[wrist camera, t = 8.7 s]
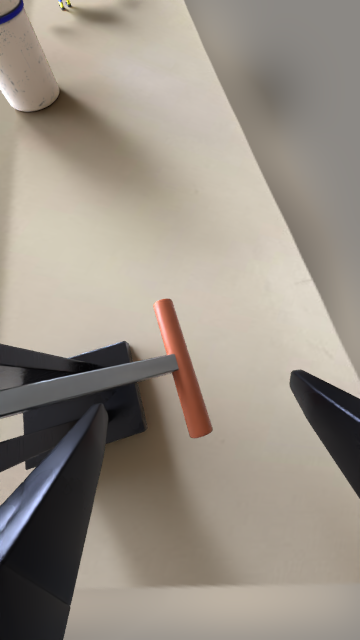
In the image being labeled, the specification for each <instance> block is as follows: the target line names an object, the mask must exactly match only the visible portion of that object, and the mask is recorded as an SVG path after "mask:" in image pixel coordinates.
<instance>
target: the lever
mask: <svg viewBox="0 0 360 640" xmlns="http://www.w3.org/2000/svg"><path fill="white" fill-rule="evenodd" d="M153 307H154V310H155V314H156V317H157V321H158V324H159V328H160V331H161V335H162V339H163V342H164V346H165V349H166V353H167V355H165V356H160V357H155V358H151V359H146V360H141V361H136V362H132V363H127V364H122V365H117V366H112V367H108V368H103V369H98V370H93V371H89V372H84V373H79V374H74V375H70V376H65V377H60V378H55V379H51V380H46V381H41V382H36V383H32V384H27V385H22V386H17V387H12V388H8V389H3V390H0V419H2V418H6V417H9V416H13V415H17V414H21V413H24V412H28V411H32V410H36V409H39V408H43V407H47V406H51V405H54V404H58V403H62V402H66V401H69V400H73V399H77V398H81V397H84V396H88V395H92V394H96V393H99V392H103V391H107V390H111V389H114V388H118V387H122V386H126V385H129V384H133V383H137V382H141V381H144V380H148V379H152V378H156V377H159V376H163V375H167V374H171V373H172V374H173V378H174V381H175V385H176V388H177V392H178V396H179V399H180V403H181V406H182V410H183V413H184V417H185V420H186V424H187V428H188V431H189V435H190V437H191V438H199V437H202V436H205V435H207V434H209V433H211V432H212V430H213V429H212V425H211V422H210V419H209V416H208V413H207V410H206V406H205V403H204V400H203V397H202V394H201V391H200V387H199V384H198V381H197V378H196V375H195V372H194V369H193V365H192V362H191V359H190V356H189V353H188V350H187V346H186V343H185V340H184V337H183V334H182V331H181V327H180V324H179V321H178V318H177V315H176V312H175V309H174V305H173V302H172V300H171V299H162V300H159V301H157V302H155V303H154V306H153Z"/></svg>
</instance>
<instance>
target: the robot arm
mask: <svg viewBox="0 0 360 640" xmlns="http://www.w3.org/2000/svg"><path fill="white" fill-rule="evenodd" d="M290 388H291V390H292V392H293V394H294V396H295V398H296V400H297V401H298V403H299V405H300V407H301V409H302V411H303V413H304V415H305V416H306V418H307V420H308V421H309V423H310V425H311V426H312V428H313V429H314V431H315V432H316V434H317V435H318V437H319V438H320V440H321V441H322V443H323V444H324V446H325V447H326V449H327V450H328V452H329V453H330V455H331V456H332V458H333V459H334V461H335V462H336V464H337V465H338V467H339V468H340V470H341V471H342V473H343V474H344V476H345V477H346V479H347V480H348V482H349V483H350V485H351V486H352V488H353V489H354V491H355V492H356V494H357V495H358V497H359V498H360V399H359V398H357V397H355V396H353V395H351V394H349V393H347V392H345V391H343V390H341V389H339V388H337V387H335V386H333V385H331V384H329V383H327V382H325V381H323V380H321V379H319V378H317V377H315V376H313V375H311V374H309V373H307V372H305V371H303V370H294V371H292V372H291V376H290ZM107 426H108V414H107V412H106V410H105V407H104V405H103V404H102V403H98V404H93V405H92V406H91V407H90V408H89V409H88V410H87V411H86V413H85V414H84V415H83V416H82V417H81V418H80V419H79V420H78V421H77V423H76V424H75V425H74V426H73V427H72V428H71V429H70V430H69V431H68V432H67V434H66V435H65V436H64V437H63V438H62V439H61V440H60V441H59V442H58V444H57V445H56V446H55V447H54V448H53V449H52V450H51V451H50V452H49V453H48V455H47V456H46V457H45V458H44V459H43V460H42V461H41V462H40V463H39V465H38V466H37V467H36V468H35V469H34V470H33V471H32V472H31V473H30V474H29V476H28V477H27V478H26V479H25V480H24V482H22V483H21V484H20V485H19V486H18V488H17V489H16V490H15V491H14V492H13V493H12V494H11V495H10V496H9V497H8V498H7V500H6V501H5V502H4V503H3V504H2V505H1V506H0V640H63V638H64V634H65V629H66V625H67V619H68V616H69V611H70V605H71V601H72V597H73V592H74V588H75V583H76V579H77V574H78V570H79V565H80V561H81V556H82V552H83V547H84V543H85V538H86V534H87V529H88V525H89V520H90V516H91V511H92V507H93V502H94V498H95V493H96V489H97V484H98V480H99V475H100V471H101V466H102V462H103V457H104V451H105V443H106V434H107Z"/></svg>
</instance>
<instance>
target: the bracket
mask: <svg viewBox="0 0 360 640" xmlns="http://www.w3.org/2000/svg"><path fill="white" fill-rule="evenodd" d="M132 362H133V360H132V356H131V351H130V347H129V343H127V342H126V341H123V342H120V343H116V344H113V345H110V346H107V347H103V348H100V349H97V350H94V351H90V352H87V353H84V354H80V355H77V356H74V357H71V358H63V357H59V356H54V355H50V354H45V353H40V352H36V351H31V350H27V349H22V348H17V347H13V346H8V345H4V344H0V390H3V389H8V388H12V387H17V386H22V385H27V384H32V383H36V382H41V381H46V380H51V379H55V378H60V377H65V376H70V375H74V374H79V373H84V372H89V371H93V370H98V369H103V368H108V367H112V366H117V365H122V364H127V363H132ZM98 403H102V404H103V405H104V407H105V410H106V412H107V414H108V426H107V434H106V443H105V444H107V443H110V442H113V441H117V440H120V439H123V438H126V437H129V436H132V435H135V434H138V433H141V432H144V431H145V430H146V429H147V428H148V427H147V423H146V419H145V414H144V410H143V405H142V401H141V396H140V392H139V387H138V383H133V384H129V385H126V386H122V387H118V388H114V389H111V390H107V391H103V392H99V393H96V394H92V395H88V396H84V397H81V398H77V399H73V400H69V401H66V402H62V403H58V404H54V405H51V406H47V407H43V408H39V409H36V410H32V411H28V412H24V413H23V422H24V435H23V436H19V437H16V438H13V439H10V440H6V441H3V442H0V472H2V471H4V470H6V469H9V468H11V467H13V466H15V465H17V464H20V463H22V462H24V461H25V466H26V470H28V469H31V468H34V467H37V466H38V465H39V463H40V462H41V461H42V460H43V459H44V458H45V457H46V456H47V455H48V453H49V452H50V451H51V450H52V449H53V448H54V447H55V446H56V445H57V444H58V442H59V441H60V440H61V439H62V438H63V437H64V436H65V435H66V434H67V432H68V431H69V430H70V429H71V428H72V427H73V426H74V425H75V424H76V423H77V421H78V420H79V419H80V418H81V417H82V416H83V415H84V414H85V413H86V411H87V410H88V409H89V408H90V407H91V406H92V405H93V404H98Z"/></svg>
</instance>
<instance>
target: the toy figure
mask: <svg viewBox="0 0 360 640" xmlns="http://www.w3.org/2000/svg"><path fill="white" fill-rule="evenodd" d="M66 1H67V2H66V5H67V6H68V7H70V6H71V4H70V1H69V0H66ZM59 3H60V4H59V6H60V8H61V9H62V10H63V9H65V8H64V6H63V3H62V0H59Z"/></svg>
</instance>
